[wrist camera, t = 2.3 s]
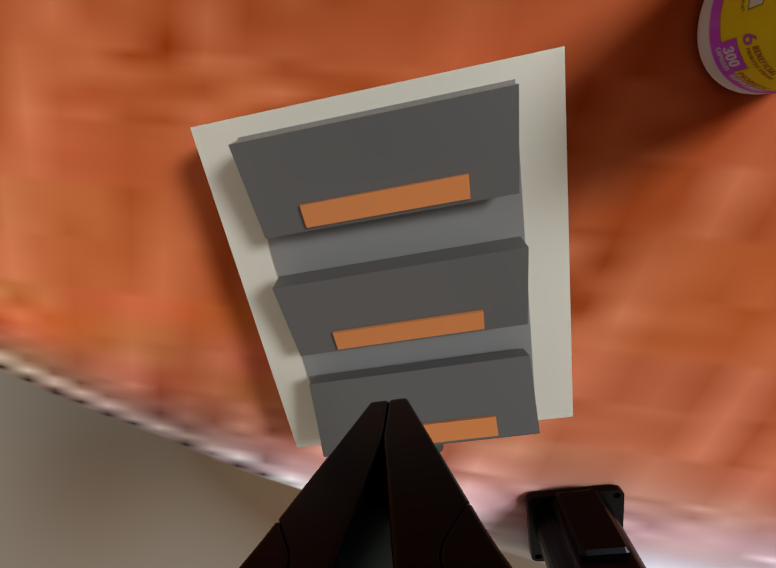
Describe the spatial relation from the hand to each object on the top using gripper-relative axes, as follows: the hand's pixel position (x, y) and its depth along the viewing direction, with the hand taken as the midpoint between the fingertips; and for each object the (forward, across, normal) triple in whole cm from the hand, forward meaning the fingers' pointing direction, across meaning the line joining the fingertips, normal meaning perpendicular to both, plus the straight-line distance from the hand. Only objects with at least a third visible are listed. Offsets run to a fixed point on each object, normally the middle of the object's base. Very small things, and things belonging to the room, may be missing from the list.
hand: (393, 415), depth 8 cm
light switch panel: (+13, 0, +2) cm, 13 cm away
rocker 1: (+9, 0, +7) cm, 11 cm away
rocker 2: (+9, 0, +1) cm, 9 cm away
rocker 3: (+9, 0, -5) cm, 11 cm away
